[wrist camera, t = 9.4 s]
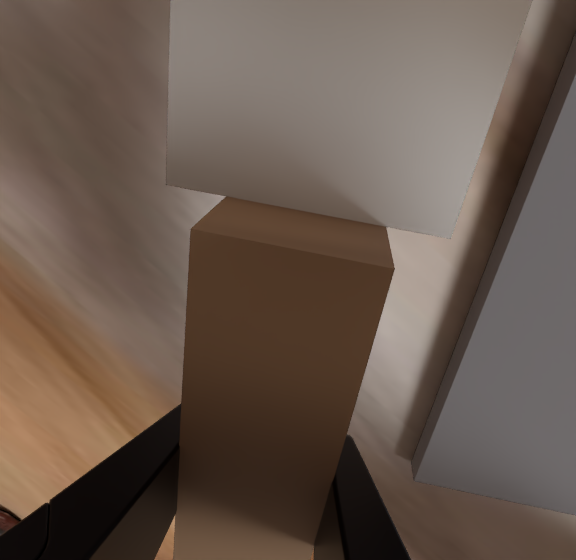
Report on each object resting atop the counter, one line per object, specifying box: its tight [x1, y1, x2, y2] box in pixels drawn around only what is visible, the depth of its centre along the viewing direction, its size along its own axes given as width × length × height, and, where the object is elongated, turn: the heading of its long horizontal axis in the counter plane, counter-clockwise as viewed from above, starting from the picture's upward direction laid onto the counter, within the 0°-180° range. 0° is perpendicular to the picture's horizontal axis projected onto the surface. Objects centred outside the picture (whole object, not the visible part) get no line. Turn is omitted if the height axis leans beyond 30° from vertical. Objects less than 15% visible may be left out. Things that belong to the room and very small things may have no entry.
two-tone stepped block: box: [166, 0, 533, 560], centre depth 8 cm, size 17×5×3 cm, turn 171°
